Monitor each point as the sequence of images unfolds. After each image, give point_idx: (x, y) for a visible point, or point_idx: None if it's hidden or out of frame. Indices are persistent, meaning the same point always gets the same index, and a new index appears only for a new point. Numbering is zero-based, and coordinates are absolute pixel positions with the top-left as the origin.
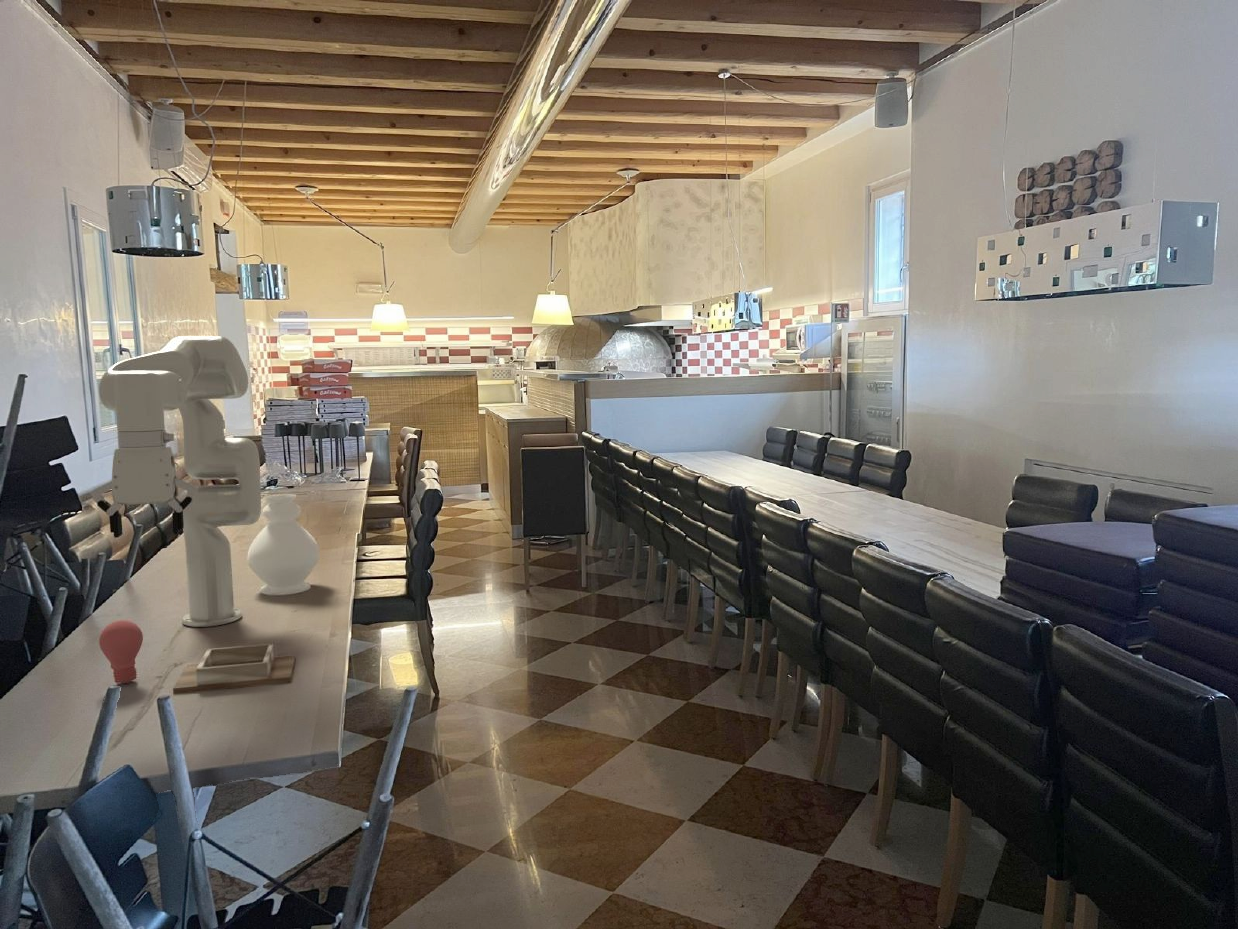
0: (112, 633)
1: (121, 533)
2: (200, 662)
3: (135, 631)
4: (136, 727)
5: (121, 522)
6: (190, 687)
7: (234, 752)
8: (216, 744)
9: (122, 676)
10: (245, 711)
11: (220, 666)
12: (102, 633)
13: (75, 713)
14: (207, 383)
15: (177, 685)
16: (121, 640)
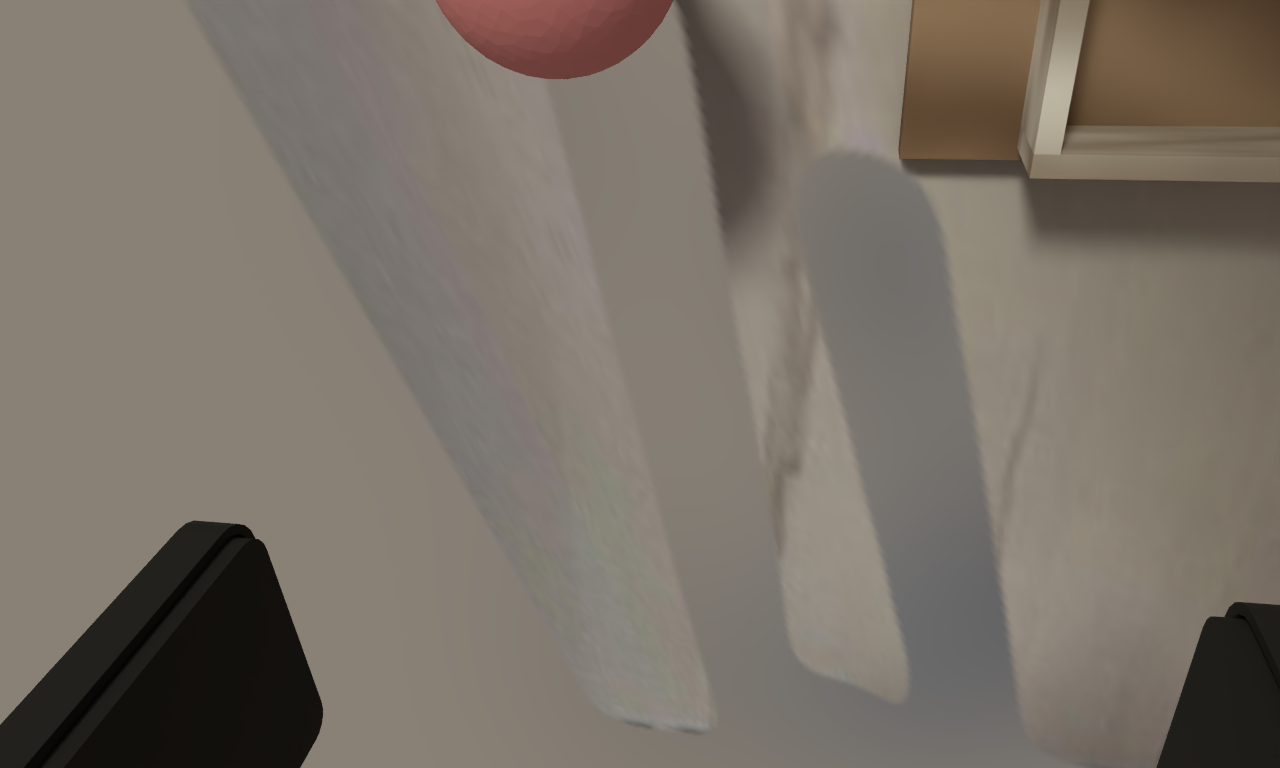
0: (519, 65)
1: (264, 596)
2: (1054, 53)
3: (647, 5)
4: (806, 458)
5: (128, 713)
6: (983, 157)
7: (1135, 716)
8: (1083, 656)
9: None
10: (1214, 446)
11: (1168, 164)
12: (445, 14)
13: (540, 260)
14: None
15: (917, 121)
16: (589, 74)
